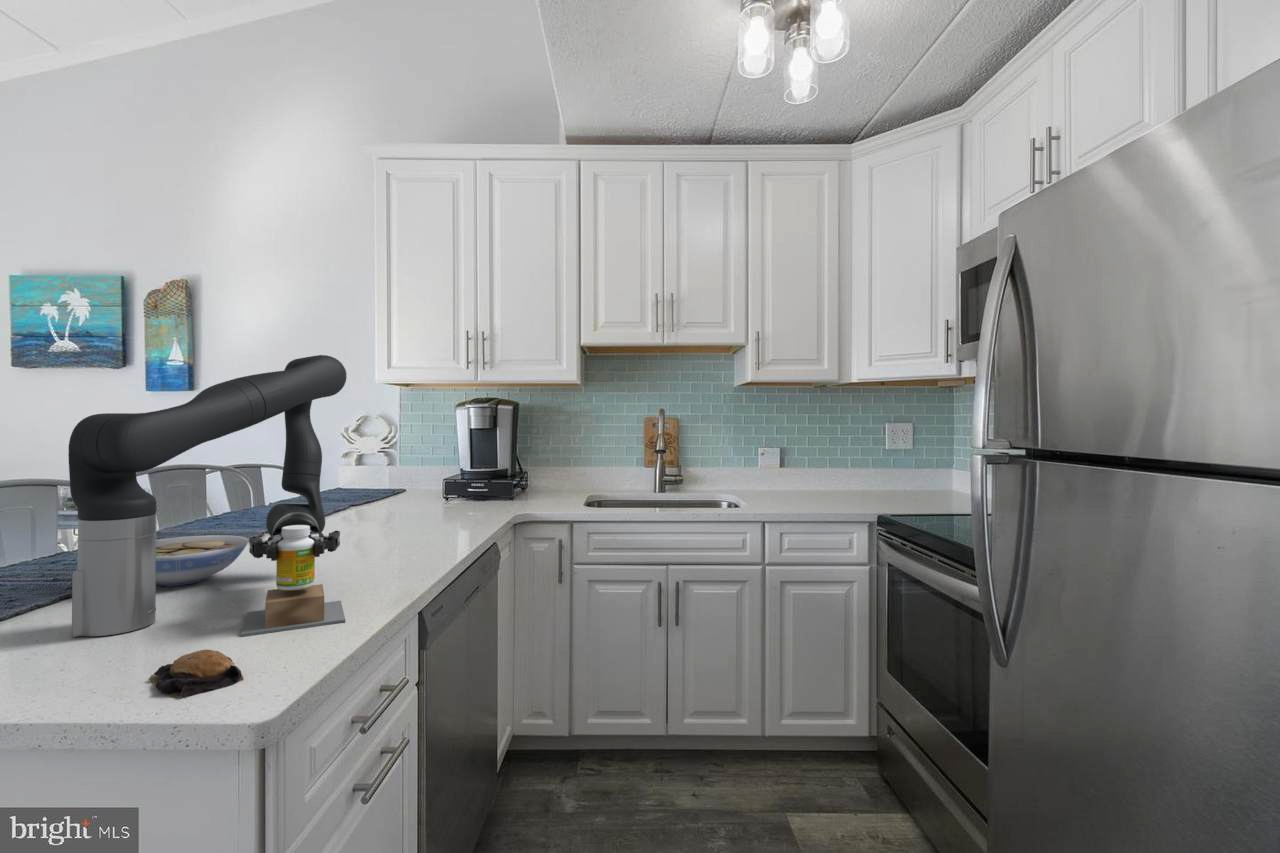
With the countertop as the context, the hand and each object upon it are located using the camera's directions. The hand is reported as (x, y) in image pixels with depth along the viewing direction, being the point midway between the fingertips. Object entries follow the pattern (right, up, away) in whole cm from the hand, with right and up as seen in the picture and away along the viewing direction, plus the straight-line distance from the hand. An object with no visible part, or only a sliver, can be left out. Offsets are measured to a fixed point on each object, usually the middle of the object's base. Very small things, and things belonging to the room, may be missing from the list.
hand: (296, 552), depth 95 cm
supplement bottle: (-1, -6, +2) cm, 7 cm away
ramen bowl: (-38, -11, +25) cm, 47 cm away
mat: (-2, -11, +3) cm, 12 cm away
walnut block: (-1, -11, +2) cm, 11 cm away
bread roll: (0, -12, -20) cm, 24 cm away
